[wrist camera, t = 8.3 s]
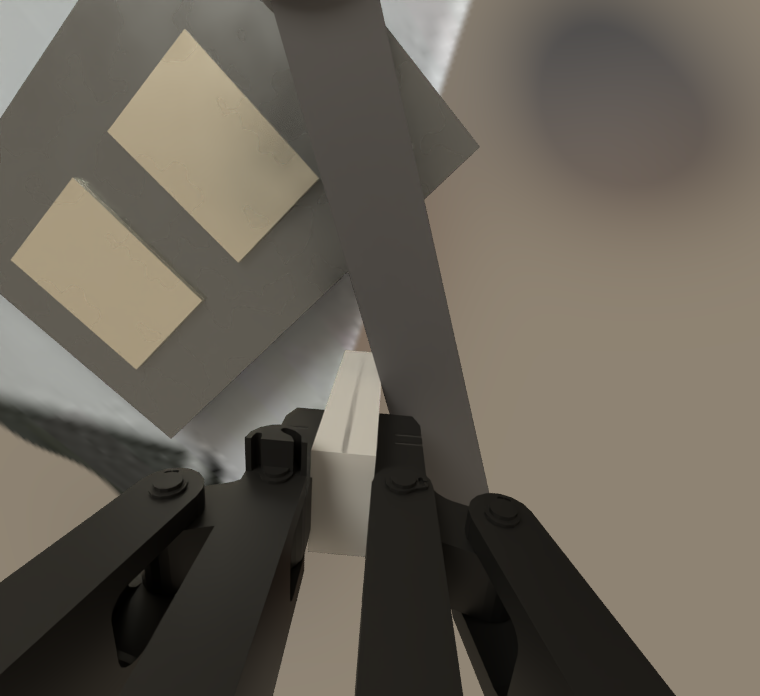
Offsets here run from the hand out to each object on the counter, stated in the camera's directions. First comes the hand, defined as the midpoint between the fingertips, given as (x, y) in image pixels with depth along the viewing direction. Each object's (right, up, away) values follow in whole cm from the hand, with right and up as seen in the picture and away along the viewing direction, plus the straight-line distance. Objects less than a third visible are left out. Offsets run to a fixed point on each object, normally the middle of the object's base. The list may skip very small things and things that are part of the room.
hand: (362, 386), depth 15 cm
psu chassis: (-7, +9, +4) cm, 12 cm away
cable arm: (+1, +6, 0) cm, 6 cm away
